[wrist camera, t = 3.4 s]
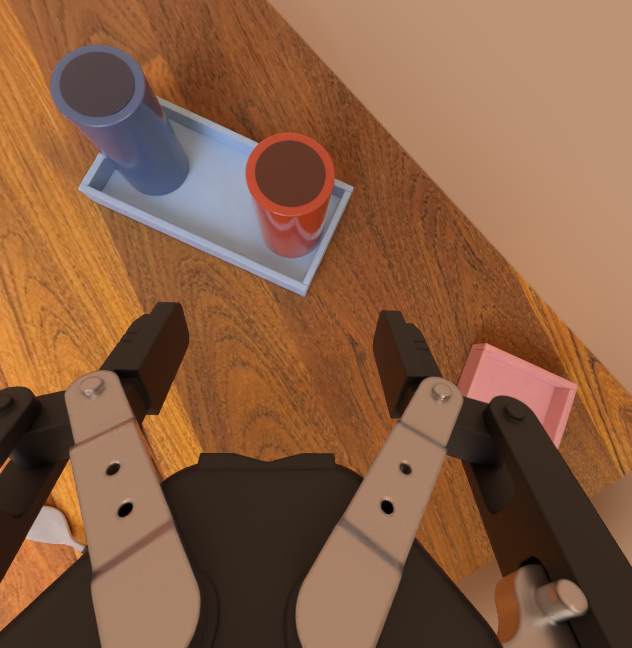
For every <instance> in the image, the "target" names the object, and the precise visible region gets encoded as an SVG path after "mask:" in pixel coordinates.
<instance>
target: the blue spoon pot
mask: <svg viewBox="0 0 632 648" xmlns="http://www.w3.org/2000/svg"><path fill="white" fill-rule="evenodd" d="M50 89H51V95H52V98H53V100H54V103H55V105H56V106H57V108H58V109H59V110H60V112H61V113H62V114H63V115H64V116H65V117H66V118H67V119H68V120H69V121H70V122H71V123H72V124H73V125H74V126H75V128H76V129H77V130H78V131H79V132H80V133H81V134H82V135H83V136H84V137H85V138H86V139H87V140H88V141H89V142H90V143H91V144H92V145H93V146H94V147H95V148H96V150H97V151H98V152H99V153H100V154H101V155H102V156H103V157H104V158H105V159H106V160H107V161H108V162H109V163H110V164H111V165H112V166H113V167H114V168H115V169H116V171H117V172H118V173H119V174H120V175H121V176H122V177H123V178H124V179H125V180H126V181H127V182H128V183H129V184H130V185H131V186H132V187H133V188H134V189H136V190H137V191H139V192H141V193H143V194H146V195H151V196H161V195H166V194H169V193H171V192H173V191H175V190H176V189H178V188H179V187H180V186H181V185H182V184H183V183H184V181H185V180H186V177H187V175H188V171H189V160H188V156H187V154H186V152H185V150H184V148H183V146H182V144H181V143H180V141H179V139H178V137H177V135H176V133H175V131H174V129H173V128H172V126H171V124H170V122H169V120H168V118H167V116H166V114H165V112H164V111H163V109H162V107H161V105H160V103H159V101H158V99H157V97H156V95H155V94H154V92H153V90H152V88H151V86H150V84H149V82H148V80H147V79H146V77H145V75H144V73H143V71H142V69H141V67H140V66H139V64H138V63H137V62H136V61H135V60H134V59H133V58H132V57H131V56H130V55H128V54H127V53H126V52H124V51H122V50H120V49H118V48H115V47H112V46H107V45H88V46H84V47H80V48H78V49H75V50H73V51H72V52H70V53H68V54H67V55H66V56H64V57H63V58H62V59H61V60H60V61H59V63H58V64H57V65H56V67H55V69H54V71H53V73H52V76H51V82H50Z"/></svg>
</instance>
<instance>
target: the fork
mask: <svg viewBox="0 0 632 648" xmlns="http://www.w3.org/2000/svg"><path fill="white" fill-rule="evenodd" d="M26 539H30V540H33V541H37V542H43V543H56V544H66V545H70V546H72V547H74V548H75V549H77V550H78V551H80V552H81V553H83V554H84V553H85V552H87V551H88V545H85V544H83V543H81V542H79V541H77V540H76V539H74V537H73V536H72V534H71V531H70V528H69V525H68V522H67V519H66V517H65V516H64V514H63V513H62V512H61V511H60V510H59V509H57V508H54V507H50V506H43V507H42V509H41V511H40V513H39V514H38V516H37V518H36V520H35V522H34V523H33V525H32V527H31V529H30V531H29V532H28V534H27V536H26Z"/></svg>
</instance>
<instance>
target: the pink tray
mask: <svg viewBox="0 0 632 648" xmlns="http://www.w3.org/2000/svg"><path fill="white" fill-rule="evenodd" d="M457 388H458V389H459V390H460V391H461V393H462V395H463V396H465V397H468V398H471V399H475V400H479V401H482V402H486V403H490V401H491V400H492V398H494V397H496V396H499V395H505V396H510V397H513V398H516V399H518V400H520V401H521V402H523V403H524V404H526V405H527V406H528V407H529V408H530V409H531V410H532V411H533V412H534V413H535V415H536V416H537V418H538V419H539V421H540V423H541V424H542V426H543V427H544V429H545V430H546V432H547V434H548V435H549V437H550V438H551V440H552V441H553V443H554V445H555V446H556V448H557V449H558V448H559V445H560V442H561V438H562V435H563V432H564V429H565V426H566V422H567V419H568V416H569V413H570V410H571V407H572V403H573V400H574V397H575V394H576V391H577V388H578V385H577V384H575V383H573V382H571V381H569V380H566V379H564V378H562V377H560V376H558V375H555V374H553V373H551V372H549V371H547V370H544V369H542V368H540V367H538V366H536V365H533V364H531V363H529V362H527V361H525V360H522V359H520V358H518V357H516V356H514V355H511V354H509V353H507V352H505V351H503V350H500V349H498V348H496V347H494V346H492V345H490V344H487V343H481V344H473V345H472V347H471V350H470V353H469V355H468V358H467V361H466V363H465V366H464V369H463V372H462V374H461V377H460V380H459V382H458V385H457Z"/></svg>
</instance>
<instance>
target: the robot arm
mask: <svg viewBox="0 0 632 648" xmlns="http://www.w3.org/2000/svg"><path fill="white" fill-rule="evenodd" d="M188 344H189V331H188V328H187V324H186V320H185V316H184V312H183V308H182V305H181V304H180V303H176V302H158V303H157V304H156V306H155V307H154V309H153V310H152V312H151V313H150V314H144V315H142V316H141V317H140V318H138V319H137V320H135V321H134V322H133V323H132V324H131V325H130V327H129V328H128V330H127V331H126V334H124V335H123V337H122V338H121V340H120V342H118V344H117V345H116V347H115V348H114V349H113V351H112V352H111V354H110V355H109V356H108V358H107V359H106V361H105V362H104V364H103V365H102V366H101V368H100V369H99V371H94V372H90V373H87V374H85V375H83V376H81V377H79V378H78V379H76V380H75V381H74V382H72V383H71V384H70V385H69V387H68V388H67V390H65V391H60V392H55V393H51V394H46V395H41V396H37V397H36V396H35V395H34V394H33V392H32V391H31V390H30V389H28V388H26V387H10V388H6V389H2V390H0V468H1V466H2V465H3V464H4V462H5V461H6V459H7V458H8V457H9V458H10V459H11V460H10V461H9V463H8V464H7V465H6V467H5V468H4V470H3V471H2V473H1V474H0V583H1V581H2V579H3V577H4V576H5V574H6V572H7V570H8V568H9V567H10V565H11V563H12V561H13V559H14V558H15V556H16V554H17V552H18V550H19V549H20V547H21V545H22V543H23V541H24V540H25V538H26V536H27V534H28V532H29V531H30V529H31V527H32V525H33V523H34V522H35V520H36V518H37V516H38V514H39V513H40V511H41V509H42V507H43V505H44V504H45V502H46V500H47V498H48V496H49V495H50V493H51V491H52V489H53V487H54V486H55V484H56V482H57V480H58V478H59V477H60V475H61V473H62V471H63V469H64V468H65V466H66V464H67V462H68V460H69V459H70V460H71V465H72V470H73V475H74V480H75V485H76V490H77V495H78V500H79V505H80V510H81V515H82V520H83V525H84V530H85V535H86V540H87V545H88V551H87V552H85V553H84V554H83V555H82V556H81V557H80V558H79V559H78V560H77V561H76V562H75V563H74V564H73V565H71V566H70V567H69V568H68V569H67V570H66V571H65V572H64V573H63V574H62V575H61V576H60V577H59V578H57V579H56V580H55V581H54V582H53V583H52V584H51V585H50V586H49V587H48V588H47V589H46V590H45V591H43V592H42V593H41V594H40V595H39V596H38V597H37V598H36V599H35V600H34V601H33V602H32V603H31V604H30V605H28V606H27V607H26V608H25V609H24V610H23V611H22V612H21V613H20V614H19V615H18V616H17V617H16V618H14V619H13V620H12V621H11V622H10V623H9V624H8V625H7V626H6V627H5V628H4V629H3V630H2V631H0V648H632V566H631V565H630V563H629V562H628V560H627V558H626V557H625V555H624V554H623V552H622V551H621V549H620V548H619V546H618V544H617V543H616V541H615V540H614V538H613V537H612V535H611V533H610V532H609V530H608V528H607V527H606V525H605V524H604V522H603V521H602V519H601V517H600V516H599V514H598V513H597V511H596V509H595V508H594V507H593V505H592V503H591V502H590V500H589V498H588V497H587V495H586V494H585V492H584V490H583V489H582V487H581V486H580V484H579V483H578V481H577V479H576V478H575V476H574V475H573V473H572V472H571V470H570V468H569V467H568V465H567V464H566V462H565V460H564V459H563V457H562V456H561V454H560V453H559V451H558V449H557V448H556V446H555V445H554V443H553V441H552V440H551V438H550V437H549V435H548V434H547V432H546V430H545V429H544V427H543V426H542V424H541V423H540V421H539V419H538V418H537V416H536V415H535V413H534V412H533V411H532V410H531V409H530V408H529V407H528V406H527V405H526V404H524V403H523V402H521V401H520V400H518V399H516V398H513V397H510V396H505V395H499V396H496V397H494V398H492V400H491V401H490V403H486V402H482V401H479V400H475V399H471V398H468V397H465V396H463V395H462V393H461V391H460V390H459V389H458V388H457V386H455V385H454V384H453V383H451V382H450V381H448V380H446V379H443V377H442V375H441V373H440V370H439V368H438V366H437V364H436V362H435V360H434V358H433V356H432V354H431V351H429V347H428V345H427V343H426V341H425V339H424V337H423V335H422V332H421V331H420V330H419V329H418V328H417V327H416V326H415V325H414V324H412V323H406V322H405V320H404V317H403V315H402V313H401V311H388V310H382V311H381V312H380V315H379V319H378V323H377V327H376V331H375V335H374V340H373V352H374V356H375V360H376V364H377V368H378V371H379V375H380V379H381V383H382V387H383V391H384V394H385V398H386V402H387V406H388V410H389V414H390V417H391V418H401V419H400V420H398V421H397V422H396V424H395V426H394V427H393V429H392V431H391V433H390V434H389V436H388V438H387V440H386V441H385V443H384V445H383V447H382V448H381V450H380V452H379V454H378V455H377V457H376V459H375V461H374V462H373V464H372V466H371V467H370V469H369V471H368V473H367V474H366V476H365V478H363V477H361V476H360V475H359V474H357V473H356V472H354V471H352V470H351V469H349V468H347V467H344V466H342V465H339V464H335V457H334V453H302V454H298V455H294V456H290V457H286V458H282V459H278V460H274V461H270V462H265V461H261V460H257V459H254V458H250V457H246V456H242V455H239V454H235V453H200V457H199V460H198V464H195V465H192V466H189V467H187V468H184V469H182V470H180V471H178V472H176V473H174V474H173V475H171V476H169V477H168V478H167V479H166V478H165V476H164V474H163V472H162V469H161V467H160V465H159V463H158V460H157V458H156V455H155V453H154V451H153V448H152V446H151V443H150V441H149V439H148V436H147V434H146V431H145V429H144V427H143V425H142V422H143V420H144V418H145V416H146V415H159V412H160V410H161V408H162V405H163V403H164V401H165V398H166V396H167V394H168V392H169V389H170V387H171V385H172V382H173V380H174V378H175V376H176V373H177V371H178V369H179V366H180V364H181V362H182V359H183V357H184V355H185V353H186V350H187V348H188ZM446 455H449V456H452V457H455V458H458V459H461V462H462V464H463V467H464V470H465V473H466V476H467V478H468V481H469V484H470V487H471V490H472V492H473V495H474V498H475V501H476V504H477V506H478V509H479V512H480V515H481V518H482V520H483V523H484V526H485V529H486V532H487V534H488V537H489V540H490V543H491V546H492V548H493V551H494V554H495V557H496V560H497V562H498V565H499V568H500V571H501V573H502V576H503V578H502V579H501V580H500V581H499V582H498V584H497V586H496V589H495V603H496V608H497V613H498V620H499V625H498V632H497V635H496V634H495V632H494V631H493V629H492V628H491V627H490V625H489V624H488V623H487V621H486V620H485V619H484V618H483V617H482V615H481V614H480V613H479V612H478V611H477V609H476V608H475V607H474V606H473V605H472V604H471V602H470V601H469V600H468V599H467V598H466V597H465V595H464V594H463V593H462V592H461V591H460V589H459V588H458V587H457V586H456V585H455V584H454V582H453V581H452V580H451V579H450V578H449V577H448V575H447V574H446V573H445V572H444V571H443V569H442V568H441V567H440V566H439V565H438V564H437V562H436V561H435V560H434V559H433V558H432V557H431V555H430V554H429V553H428V552H427V551H426V550H425V548H424V547H423V546H422V545H421V544H420V542H419V541H418V540H417V539H416V538H415V535H416V532H417V530H418V527H419V524H420V522H421V519H422V517H423V514H424V511H425V509H426V506H427V503H428V501H429V498H430V495H431V493H432V490H433V488H434V485H435V482H436V480H437V477H438V474H439V472H440V469H441V466H442V464H443V461H444V459H445V456H446Z"/></svg>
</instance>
